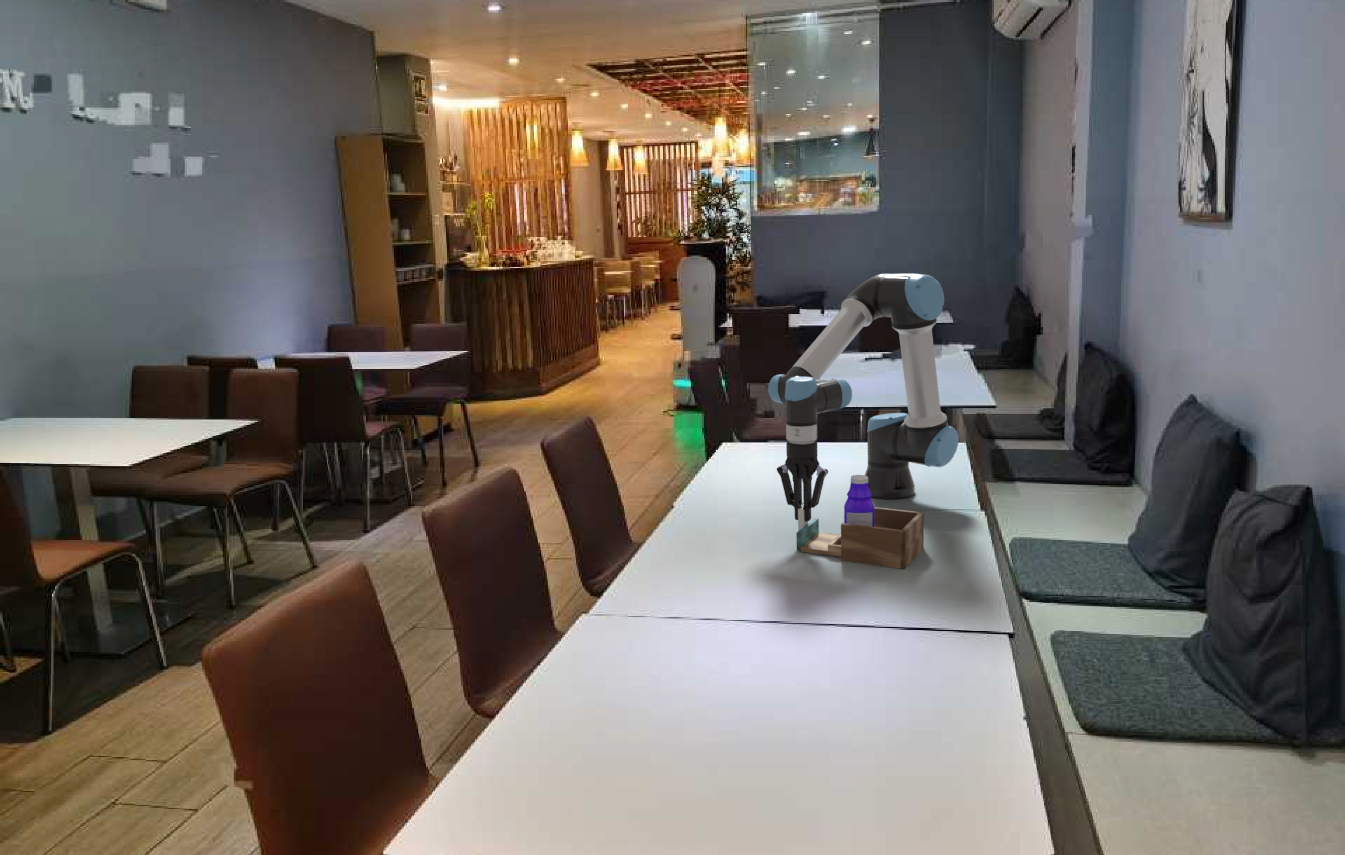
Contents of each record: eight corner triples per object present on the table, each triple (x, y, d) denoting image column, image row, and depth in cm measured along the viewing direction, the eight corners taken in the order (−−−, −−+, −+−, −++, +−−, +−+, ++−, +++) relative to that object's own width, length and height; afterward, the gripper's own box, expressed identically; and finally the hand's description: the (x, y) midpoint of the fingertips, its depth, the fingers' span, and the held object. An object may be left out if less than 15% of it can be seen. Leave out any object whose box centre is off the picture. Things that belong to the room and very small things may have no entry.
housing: (862, 540, 242) (862, 505, 240) (923, 547, 234) (923, 512, 233) (841, 560, 228) (840, 524, 226) (904, 569, 221) (904, 531, 219)
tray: (815, 535, 246) (814, 518, 245) (896, 545, 236) (897, 527, 235) (796, 550, 236) (796, 532, 235) (881, 562, 225) (881, 543, 224)
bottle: (873, 542, 236) (873, 473, 233) (875, 549, 231) (875, 479, 227) (843, 542, 237) (842, 473, 233) (844, 550, 232) (844, 480, 228)
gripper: (771, 442, 236) (773, 534, 241) (821, 446, 229) (822, 540, 234) (783, 435, 242) (785, 525, 247) (832, 439, 236) (833, 531, 241)
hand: (803, 532), depth 241 cm, fingers closed
